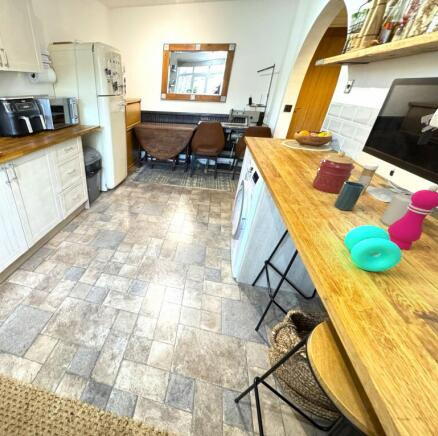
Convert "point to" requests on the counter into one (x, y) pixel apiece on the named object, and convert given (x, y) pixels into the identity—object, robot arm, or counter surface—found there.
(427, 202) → the pepper mill
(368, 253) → the donuts
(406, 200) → the can
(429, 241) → the counter surface
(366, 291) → the counter surface
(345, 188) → the cup
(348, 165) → the kitchen canister
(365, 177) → the sprinkles bottle
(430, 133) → the robot arm
